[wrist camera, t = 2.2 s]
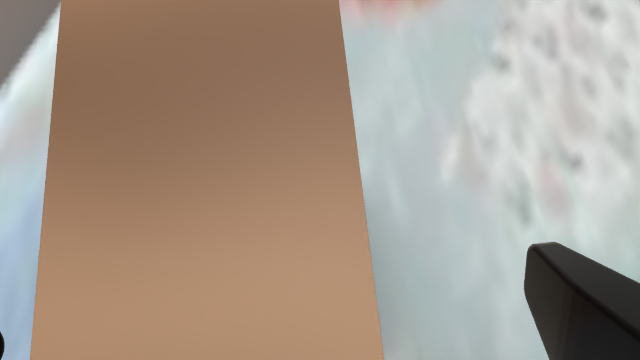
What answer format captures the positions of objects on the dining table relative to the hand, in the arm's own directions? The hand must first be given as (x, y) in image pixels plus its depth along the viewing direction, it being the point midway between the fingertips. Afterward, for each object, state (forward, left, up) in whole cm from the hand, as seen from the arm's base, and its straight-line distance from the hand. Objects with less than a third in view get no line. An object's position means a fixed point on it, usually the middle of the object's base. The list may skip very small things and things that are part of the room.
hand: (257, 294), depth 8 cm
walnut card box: (+1, +1, -9) cm, 9 cm away
